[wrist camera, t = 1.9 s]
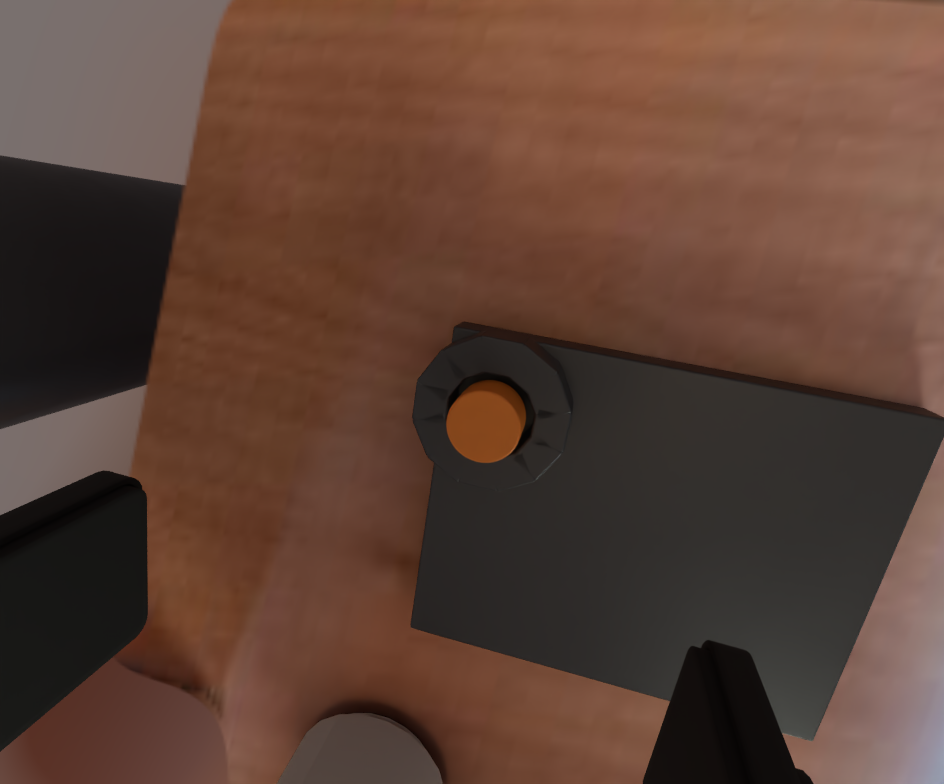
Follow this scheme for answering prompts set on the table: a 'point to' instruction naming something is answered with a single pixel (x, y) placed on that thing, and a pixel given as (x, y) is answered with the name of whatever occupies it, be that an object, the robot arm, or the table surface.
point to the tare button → (486, 421)
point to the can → (360, 754)
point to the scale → (663, 516)
